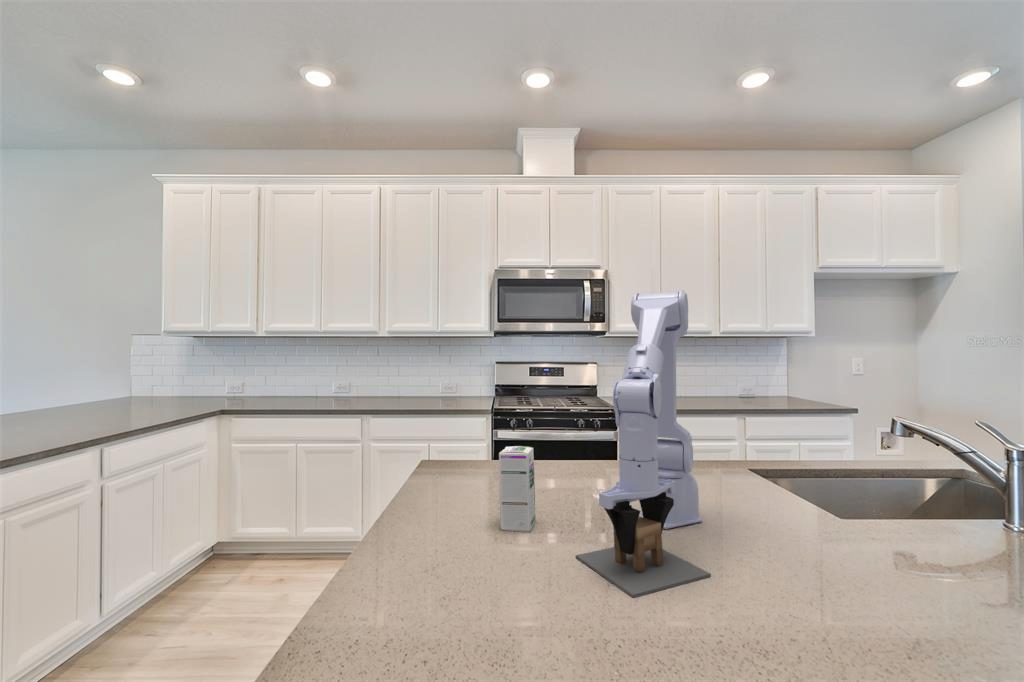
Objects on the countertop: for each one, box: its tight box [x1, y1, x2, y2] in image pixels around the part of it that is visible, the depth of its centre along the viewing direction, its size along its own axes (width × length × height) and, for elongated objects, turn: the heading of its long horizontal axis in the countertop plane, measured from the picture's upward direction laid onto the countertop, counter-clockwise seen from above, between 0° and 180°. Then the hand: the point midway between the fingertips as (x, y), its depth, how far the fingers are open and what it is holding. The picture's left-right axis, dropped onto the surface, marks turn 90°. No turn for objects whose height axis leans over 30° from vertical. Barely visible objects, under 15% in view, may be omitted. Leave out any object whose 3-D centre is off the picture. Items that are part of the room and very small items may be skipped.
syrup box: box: [498, 445, 536, 533], centre depth 91 cm, size 6×6×14 cm
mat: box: [575, 546, 712, 599], centre depth 73 cm, size 14×14×1 cm
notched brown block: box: [612, 516, 664, 572], centre depth 73 cm, size 5×5×6 cm
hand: (639, 547), depth 73 cm, fingers closed on notched brown block, 5 cm apart
